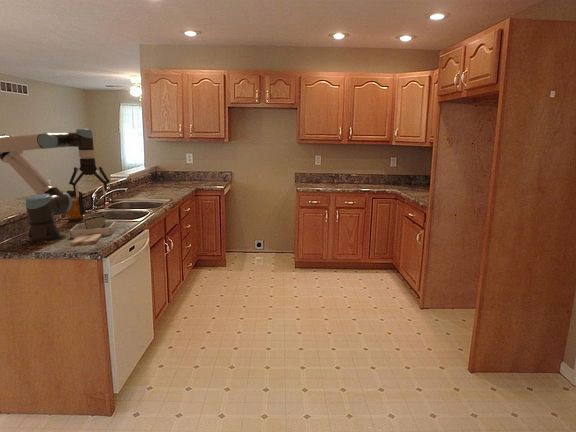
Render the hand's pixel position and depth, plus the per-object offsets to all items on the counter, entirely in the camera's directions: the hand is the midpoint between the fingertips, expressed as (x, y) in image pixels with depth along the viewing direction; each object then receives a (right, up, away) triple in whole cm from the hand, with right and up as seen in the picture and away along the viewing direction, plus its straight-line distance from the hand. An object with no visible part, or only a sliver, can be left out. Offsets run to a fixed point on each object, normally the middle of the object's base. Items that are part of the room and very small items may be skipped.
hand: (91, 196), depth 223 cm
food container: (0, -20, +4) cm, 21 cm away
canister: (-26, -14, +35) cm, 46 cm away
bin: (0, -20, +3) cm, 21 cm away
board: (+4, -24, -13) cm, 27 cm away
